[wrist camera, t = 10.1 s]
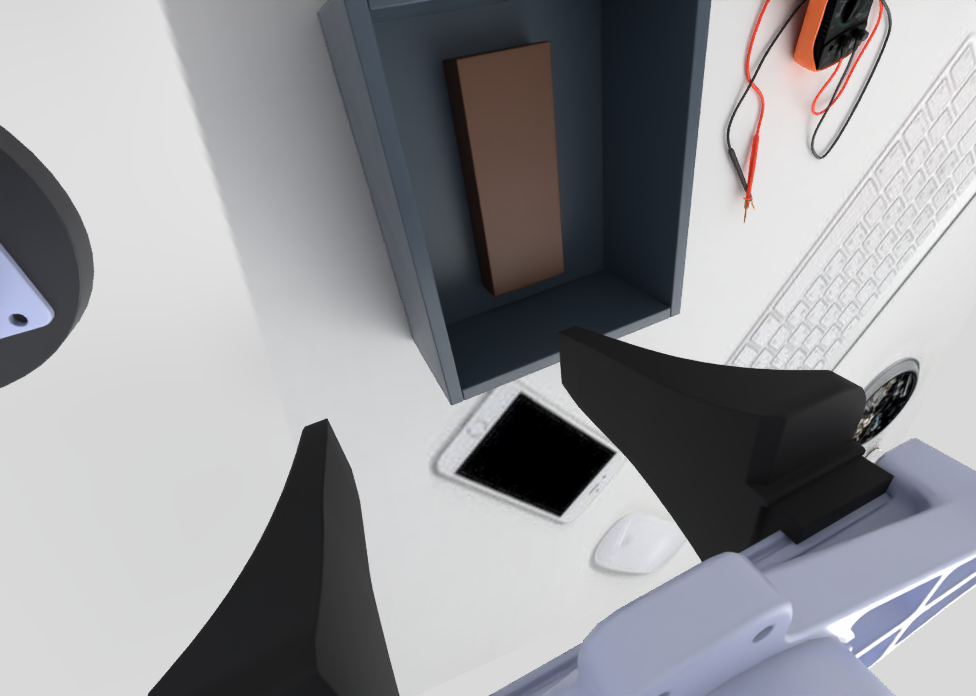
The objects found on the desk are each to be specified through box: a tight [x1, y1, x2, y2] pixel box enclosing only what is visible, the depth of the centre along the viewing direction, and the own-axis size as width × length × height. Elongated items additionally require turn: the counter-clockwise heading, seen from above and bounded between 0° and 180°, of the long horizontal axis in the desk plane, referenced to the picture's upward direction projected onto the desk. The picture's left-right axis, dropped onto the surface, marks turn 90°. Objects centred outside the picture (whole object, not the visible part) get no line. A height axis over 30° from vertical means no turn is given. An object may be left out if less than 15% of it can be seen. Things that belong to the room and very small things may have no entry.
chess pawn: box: [866, 449, 884, 463], centre depth 59 cm, size 3×3×5 cm
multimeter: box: [727, 0, 892, 222], centre depth 24 cm, size 18×12×3 cm, turn 4°
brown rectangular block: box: [443, 41, 564, 297], centre depth 21 cm, size 4×10×2 cm, turn 10°
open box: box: [317, 0, 711, 405], centre depth 19 cm, size 12×14×6 cm
